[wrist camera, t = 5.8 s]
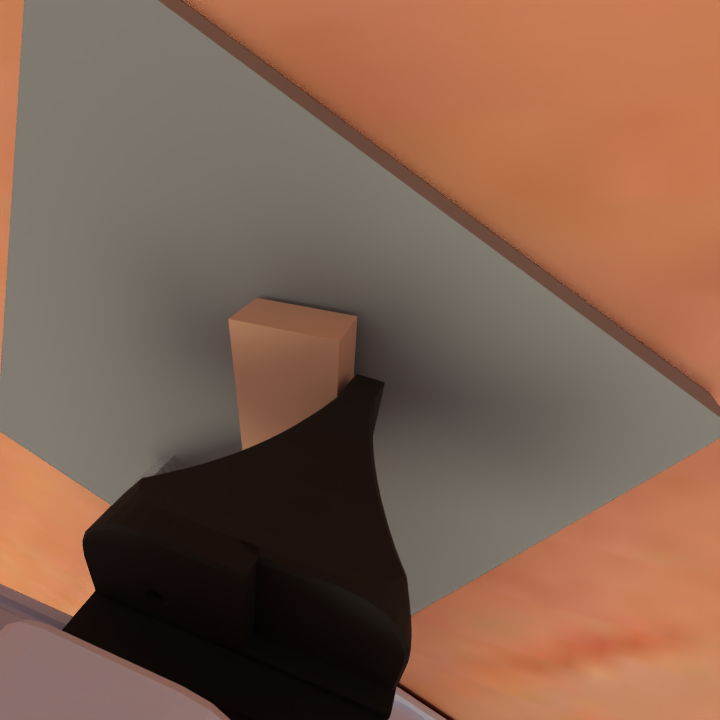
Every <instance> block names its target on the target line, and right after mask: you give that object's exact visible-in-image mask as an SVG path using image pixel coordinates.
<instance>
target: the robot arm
mask: <svg viewBox="0 0 720 720" xmlns="http://www.w3.org/2000/svg"><path fill="white" fill-rule="evenodd" d="M384 385H385V382H382V381H379V380H375V379H372V378H369V377H365V376H362V375H359V374H356V375H355V376H354V377H353V378H352V380H351V381H350V382H349V383H348V384H347V386H346V388H345V390H344V392H343V393H342V394H341V395H339V396H338V397H337V398H335V399H334V400H333V401H331V402H330V403H328V404H327V405H326V406H324V407H323V408H321V409H320V410H318V411H317V412H315V413H314V414H312V415H311V416H309V417H307V418H306V419H304V420H303V421H301V422H299V423H298V424H296V425H294V426H293V427H291V428H289V429H287V430H285V431H283V432H282V433H280V434H278V435H276V436H274V437H272V438H270V439H268V440H265V441H263V442H261V443H259V444H256V445H254V446H252V447H249V448H247V449H244V450H242V451H239V452H237V453H234V454H231V455H229V456H226V457H222V458H219V459H216V460H213V461H210V462H207V463H203V464H200V465H196V466H193V467H189V468H185V469H181V470H176V471H172V472H167V473H163V474H159V475H154V476H149V477H144V478H141V479H140V480H139V481H138V482H137V483H136V484H134V485H133V486H132V487H131V488H130V489H128V490H127V491H126V492H125V493H124V494H123V495H122V496H121V497H120V498H119V499H118V500H117V501H116V502H115V503H114V504H113V505H112V506H111V507H110V508H109V509H108V510H107V511H106V512H105V513H104V514H103V515H102V516H101V517H100V518H99V519H98V520H97V521H96V522H95V523H94V524H93V525H92V526H91V527H90V528H89V529H88V530H87V531H86V532H85V535H84V538H83V550H84V556H85V559H86V562H87V565H88V568H89V572H90V575H91V578H92V581H93V584H94V587H95V590H96V591H95V592H94V593H93V594H92V596H91V597H90V598H89V599H88V600H87V601H86V603H85V604H84V605H83V606H82V607H81V608H80V610H79V611H78V612H77V613H76V614H75V615H74V616H73V617H72V616H70V615H68V614H66V613H64V612H61V611H59V610H57V609H55V608H52V607H50V606H48V605H46V604H44V603H41V602H39V601H37V600H35V599H33V598H30V597H28V596H26V595H24V594H21V593H19V592H17V591H15V590H13V589H10V588H8V587H6V586H4V585H2V584H0V720H447V719H445V718H444V717H442V716H441V715H439V714H438V713H436V712H435V711H433V710H432V709H430V708H429V707H427V706H426V705H424V704H423V703H421V702H420V701H418V700H417V699H415V698H414V697H412V696H411V695H409V694H407V693H406V692H404V691H403V690H401V689H400V688H398V687H397V685H398V683H399V681H400V679H401V676H402V674H403V672H404V670H405V668H406V665H407V663H408V660H409V656H410V650H411V611H410V600H409V591H408V582H407V576H406V573H405V571H404V568H403V566H402V563H401V561H400V558H399V555H398V553H397V550H396V547H395V545H394V541H393V538H392V535H391V532H390V529H389V526H388V523H387V519H386V515H385V511H384V507H383V504H382V500H381V496H380V491H379V486H378V481H377V474H376V468H375V460H374V449H373V434H374V430H375V425H376V421H377V416H378V412H379V407H380V403H381V398H382V394H383V389H384Z"/></svg>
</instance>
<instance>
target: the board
mask: <svg viewBox="0 0 720 720" xmlns="http://www.w3.org/2000/svg"><path fill="white" fill-rule="evenodd" d="M256 298H261V299H266V300H272V301H277V302H283V303H288V304H293V305H299V306H304V307H310V308H315V309H321V310H326V311H332V312H337V313H343V314H348V315H353V316H357V332H356V348H355V364H354V376H355V375H356V374H359V375H362V376H365V377H369V378H372V379H375V380H379V381H382V382H385V385H384V389H383V394H382V398H381V403H380V407H379V412H378V416H377V421H376V425H375V430H374V434H373V449H374V460H375V468H376V474H377V481H378V486H379V491H380V496H381V500H382V504H383V507H384V511H385V515H386V519H387V523H388V526H389V529H390V532H391V535H392V538H393V541H394V545H395V547H396V550H397V553H398V555H399V558H400V561H401V563H402V566H403V568H404V571H405V573H406V576H407V582H408V591H409V600H410V611H411V616H412V615H414V614H415V613H417V612H419V611H420V610H422V609H424V608H426V607H427V606H429V605H431V604H433V603H434V602H436V601H438V600H440V599H441V598H443V597H445V596H447V595H448V594H450V593H452V592H454V591H455V590H457V589H459V588H460V587H462V586H464V585H466V584H467V583H469V582H471V581H473V580H474V579H476V578H478V577H480V576H481V575H483V574H485V573H487V572H488V571H490V570H492V569H493V568H495V567H497V566H499V565H500V564H502V563H504V562H506V561H507V560H509V559H511V558H513V557H514V556H516V555H518V554H520V553H521V552H523V551H525V550H526V549H528V548H530V547H532V546H533V545H535V544H537V543H539V542H540V541H542V540H544V539H546V538H547V537H549V536H551V535H553V534H554V533H556V532H558V531H559V530H561V529H563V528H565V527H566V526H568V525H570V524H572V523H573V522H575V521H577V520H579V519H580V518H582V517H584V516H586V515H587V514H589V513H591V512H593V511H594V510H596V509H598V508H599V507H601V506H603V505H605V504H606V503H608V502H610V501H612V500H613V499H615V498H617V497H619V496H620V495H622V494H624V493H626V492H627V491H629V490H631V489H632V488H634V487H636V486H638V485H639V484H641V483H643V482H645V481H646V480H648V479H650V478H652V477H653V476H655V475H657V474H659V473H660V472H662V471H664V470H665V469H667V468H669V467H671V466H672V465H674V464H676V463H678V462H679V461H681V460H683V459H685V458H686V457H688V456H690V455H692V454H693V453H695V452H697V451H699V450H700V449H702V448H704V447H705V446H707V445H709V444H711V443H712V442H714V441H716V440H718V439H719V438H720V406H719V405H718V404H717V402H716V401H715V399H714V398H713V397H712V395H711V394H709V393H708V392H707V391H705V390H704V389H703V388H701V387H700V386H699V385H697V384H696V383H694V382H693V381H692V380H690V379H689V378H688V377H686V376H685V375H684V374H682V373H681V372H680V371H678V370H677V369H676V368H674V367H673V366H672V365H670V364H669V363H668V362H666V361H665V360H664V359H662V358H661V357H660V356H658V355H657V354H656V353H654V352H653V351H652V350H650V349H649V348H648V347H646V346H645V345H643V344H642V343H641V342H639V341H638V340H637V339H635V338H634V337H633V336H631V335H630V334H629V333H627V332H626V331H625V330H623V329H622V328H621V327H619V326H618V325H617V324H615V323H614V322H613V321H611V320H610V319H609V318H607V317H606V316H605V315H603V314H602V313H601V312H599V311H598V310H596V309H595V308H594V307H592V306H591V305H590V304H588V303H587V302H586V301H584V300H583V299H582V298H580V297H579V296H578V295H576V294H575V293H574V292H572V291H571V290H570V289H568V288H567V287H566V286H564V285H563V284H562V283H560V282H559V281H558V280H556V279H555V278H554V277H552V276H551V275H550V274H548V273H547V272H545V271H544V270H543V269H541V268H540V267H539V266H537V265H536V264H535V263H533V262H532V261H531V260H529V259H528V258H527V257H525V256H524V255H523V254H521V253H520V252H519V251H517V250H516V249H515V248H513V247H512V246H511V245H509V244H508V243H507V242H505V241H504V240H503V239H501V238H500V237H498V236H497V235H496V234H494V233H493V232H492V231H490V230H489V229H488V228H486V227H485V226H484V225H482V224H481V223H480V222H478V221H477V220H476V219H474V218H473V217H472V216H470V215H469V214H468V213H466V212H465V211H464V210H462V209H461V208H460V207H458V206H457V205H456V204H454V203H453V202H452V201H450V200H449V199H447V198H446V197H445V196H443V195H442V194H441V193H439V192H438V191H437V190H435V189H434V188H433V187H431V186H430V185H429V184H427V183H426V182H425V181H423V180H422V179H421V178H419V177H418V176H417V175H415V174H414V173H413V172H411V171H410V170H409V169H407V168H406V167H405V166H403V165H402V164H400V163H399V162H398V161H396V160H395V159H394V158H392V157H391V156H390V155H388V154H387V153H386V152H384V151H383V150H382V149H380V148H379V147H378V146H376V145H375V144H374V143H372V142H371V141H370V140H368V139H367V138H366V137H364V136H363V135H362V134H360V133H359V132H358V131H356V130H355V129H354V128H352V127H351V126H349V125H348V124H347V123H345V122H344V121H343V120H341V119H340V118H339V117H337V116H336V115H335V114H333V113H332V112H331V111H329V110H328V109H327V108H325V107H324V106H323V105H321V104H320V103H319V102H317V101H316V100H315V99H313V98H312V97H311V96H309V95H308V94H307V93H305V92H304V91H303V90H301V89H300V88H298V87H297V86H296V85H294V84H293V83H292V82H290V81H289V80H288V79H286V78H285V77H284V76H282V75H281V74H280V73H278V72H277V71H276V70H274V69H273V68H272V67H270V66H269V65H268V64H266V63H265V62H264V61H262V60H261V59H260V58H258V57H257V56H256V55H254V54H253V53H251V52H250V51H249V50H247V49H246V48H245V47H243V46H242V45H241V44H239V43H238V42H237V41H235V40H234V39H233V38H231V37H230V36H229V35H227V34H226V33H225V32H223V31H222V30H221V29H219V28H218V27H217V26H215V25H214V24H213V23H211V22H210V21H209V20H207V19H206V18H205V17H203V16H202V15H200V14H199V13H198V12H196V11H195V10H194V9H192V8H191V7H190V6H188V5H187V4H186V3H184V2H183V1H182V0H24V12H23V28H22V44H21V59H20V75H19V91H18V107H17V123H16V138H15V154H14V170H13V186H12V201H11V217H10V233H9V249H8V265H7V280H6V296H5V312H4V328H3V343H2V359H1V375H0V432H2V433H3V434H5V435H6V436H8V437H9V438H11V439H12V440H14V441H15V442H17V443H18V444H20V445H21V446H23V447H24V448H26V449H27V450H29V451H30V452H32V453H33V454H35V455H36V456H38V457H39V458H41V459H42V460H44V461H45V462H47V463H48V464H50V465H51V466H53V467H54V468H56V469H57V470H59V471H60V472H62V473H63V474H65V475H66V476H68V477H70V478H71V479H73V480H74V481H76V482H77V483H79V484H80V485H82V486H83V487H85V488H86V489H88V490H89V491H91V492H92V493H94V494H95V495H97V496H98V497H100V498H101V499H103V500H104V501H106V502H107V503H109V504H110V505H113V504H114V503H115V502H116V501H117V500H118V499H119V498H120V497H121V496H122V495H123V494H124V493H125V492H126V491H127V490H128V489H129V488H130V487H131V486H132V485H133V484H134V483H135V482H136V481H137V480H138V479H139V478H140V477H141V476H142V475H143V474H144V473H145V472H146V471H147V470H148V469H149V468H150V467H151V466H152V465H153V464H154V463H155V462H156V461H157V460H158V459H161V458H164V457H168V456H171V455H175V457H176V458H177V459H178V461H179V462H180V463H181V464H182V466H183V467H184V468H189V467H193V466H196V465H200V464H203V463H207V462H210V461H213V460H216V459H219V458H222V457H226V456H229V455H231V454H234V453H237V452H239V451H242V441H241V432H240V423H239V413H238V404H237V395H236V386H235V376H234V367H233V358H232V349H231V340H230V330H229V321H228V319H229V318H230V317H232V316H233V315H234V314H236V313H237V312H238V311H240V310H241V309H242V308H244V307H245V306H246V305H248V304H249V303H250V302H252V301H253V300H254V299H256Z"/></svg>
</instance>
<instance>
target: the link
mask: <svg viewBox="0 0 720 720" xmlns="http://www.w3.org/2000/svg"><path fill="white" fill-rule="evenodd" d="M228 321H229V330H230V340H231V349H232V358H233V367H234V376H235V386H236V395H237V404H238V413H239V423H240V432H241V441H242V450H244V449H247V448H249V447H252V446H254V445H256V444H259V443H261V442H263V441H265V440H268V439H270V438H272V437H274V436H276V435H278V434H280V433H282V432H283V431H285V430H287V429H289V428H291V427H293V426H294V425H296V424H298V423H299V422H301V421H303V420H304V419H306V418H307V417H309V416H311V415H312V414H314V413H315V412H317V411H318V410H320V409H321V408H323V407H324V406H326V405H327V404H328V403H330V402H331V401H333V400H334V399H335V398H337V397H338V396H339V395H341V394H342V393H343V392H344V390H345V388H346V386H347V384H348V383H349V382H350V381H351V380H352V378H353V377H354V364H355V348H356V332H357V316H353V315H348V314H343V313H337V312H332V311H326V310H321V309H315V308H310V307H304V306H299V305H293V304H288V303H283V302H277V301H272V300H266V299H261V298H256V299H254V300H253V301H252V302H250V303H249V304H248V305H246V306H245V307H244V308H242V309H241V310H240V311H238V312H237V313H236V314H234V315H233V316H232V317H230V318H229V319H228Z"/></svg>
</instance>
